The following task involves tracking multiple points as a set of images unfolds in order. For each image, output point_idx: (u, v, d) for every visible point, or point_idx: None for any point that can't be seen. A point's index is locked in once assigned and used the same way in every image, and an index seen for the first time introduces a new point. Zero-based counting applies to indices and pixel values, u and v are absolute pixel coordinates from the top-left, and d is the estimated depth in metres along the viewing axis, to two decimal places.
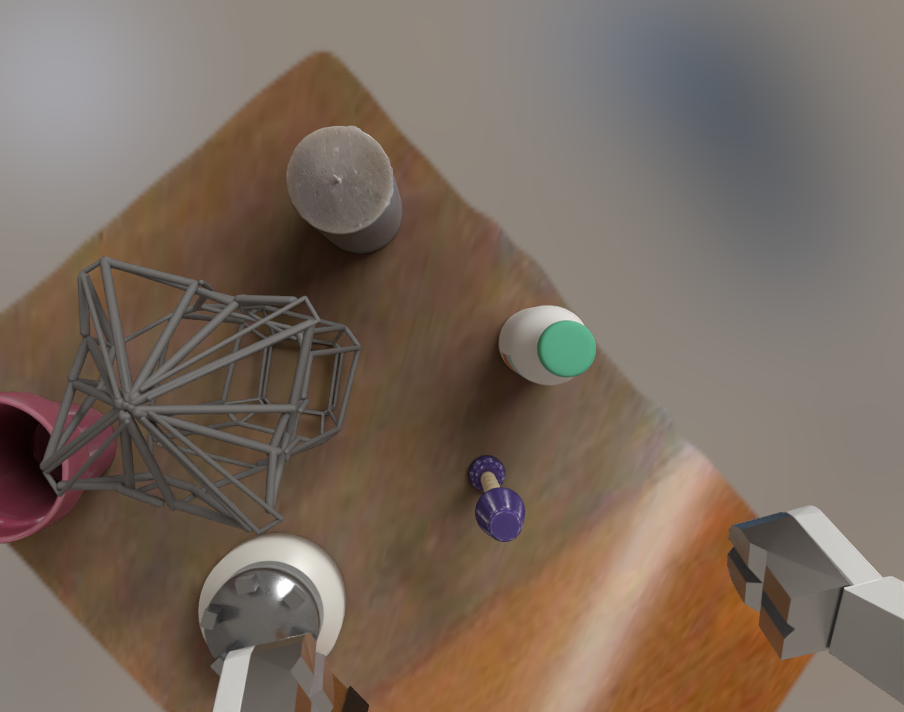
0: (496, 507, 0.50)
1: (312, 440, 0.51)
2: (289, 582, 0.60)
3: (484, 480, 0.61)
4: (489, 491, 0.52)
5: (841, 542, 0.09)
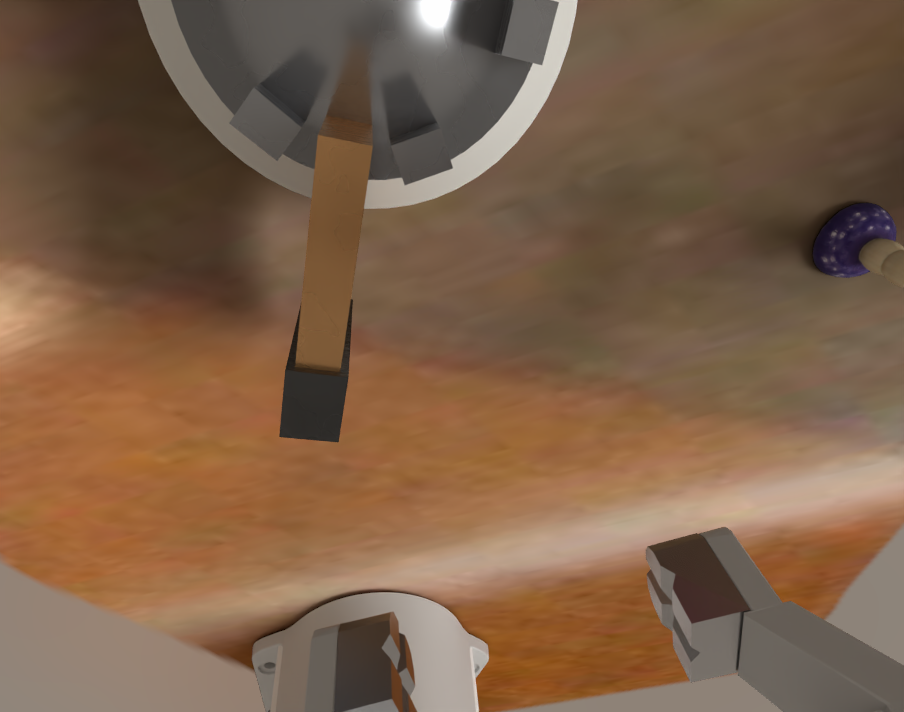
0: None
1: None
2: None
3: None
4: None
5: (748, 566, 0.09)
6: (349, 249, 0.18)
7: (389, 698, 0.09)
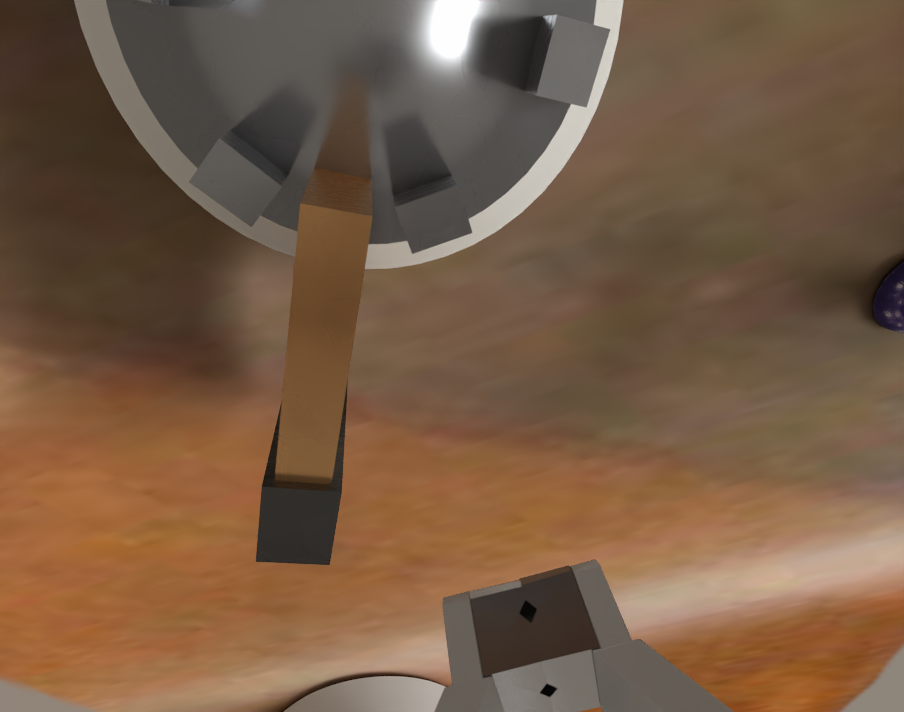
0: None
1: None
2: None
3: None
4: None
5: (607, 601, 0.09)
6: (342, 342, 0.14)
7: (538, 661, 0.09)
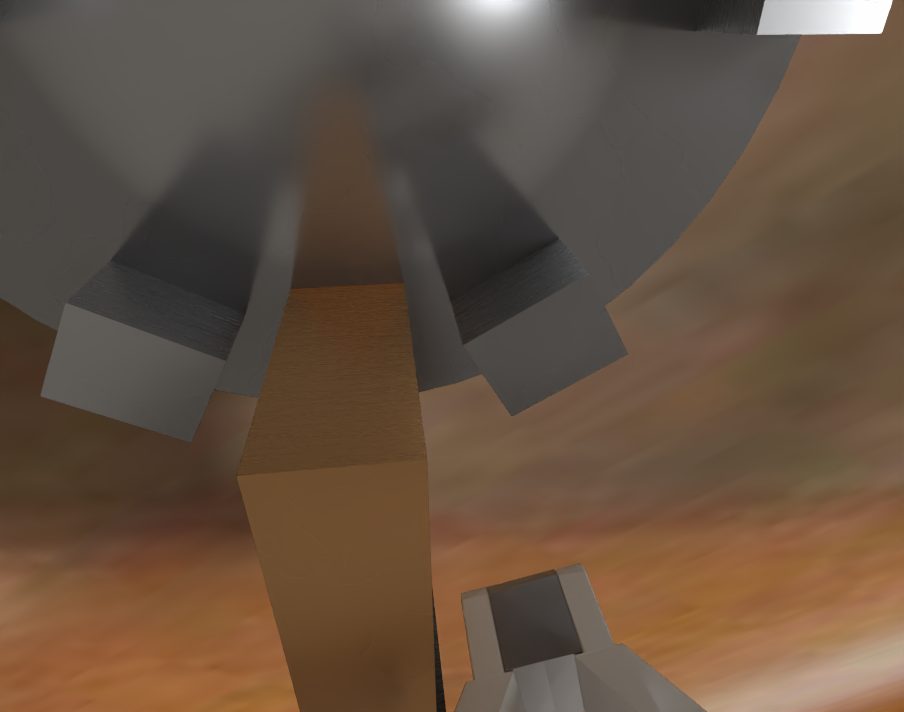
0: None
1: None
2: None
3: None
4: None
5: (590, 605, 0.09)
6: (411, 677, 0.07)
7: (559, 655, 0.09)
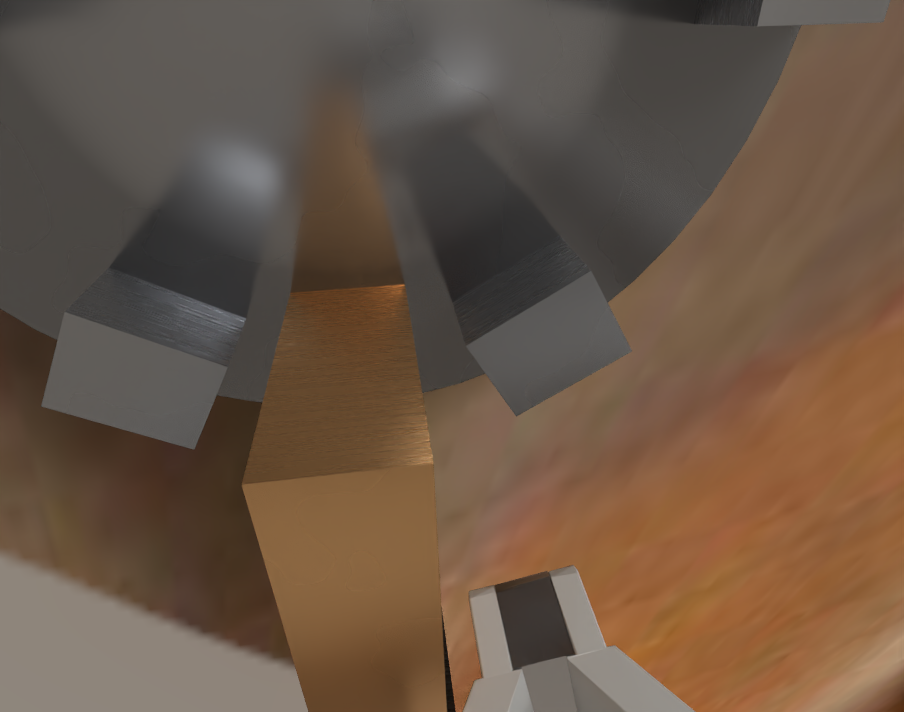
0: None
1: None
2: None
3: None
4: None
5: (582, 607, 0.09)
6: (421, 682, 0.07)
7: (567, 653, 0.09)
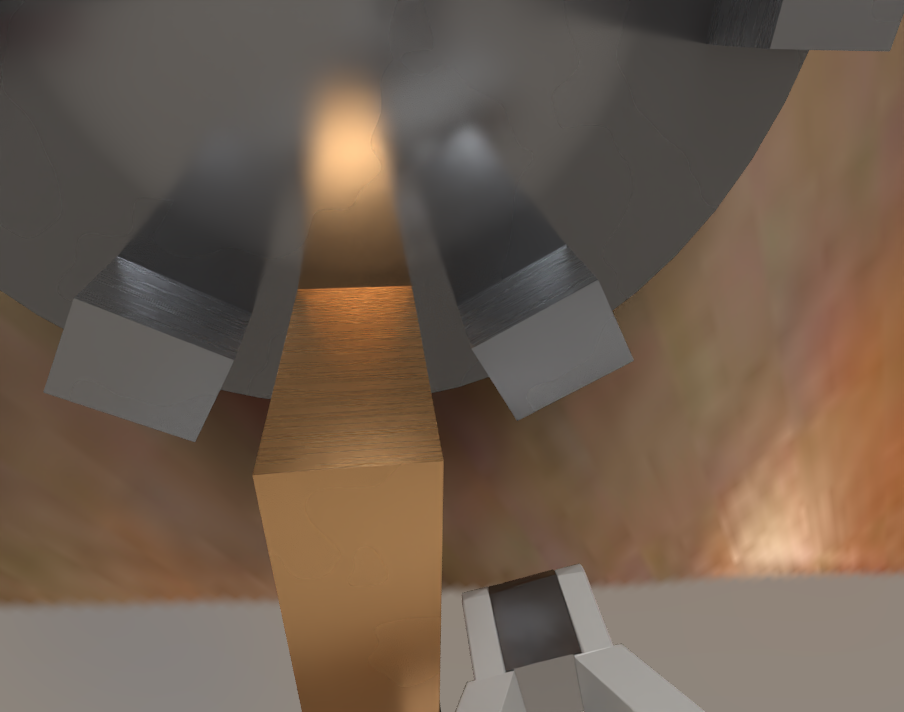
0: None
1: None
2: None
3: None
4: None
5: (589, 606, 0.09)
6: (416, 682, 0.07)
7: (560, 655, 0.09)
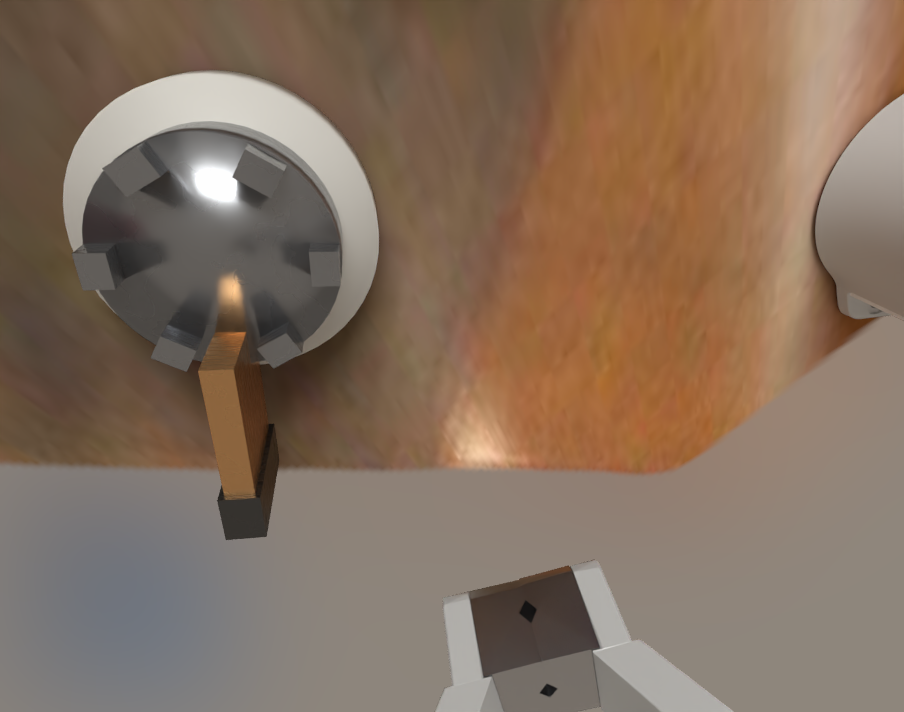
0: None
1: None
2: (333, 230, 0.28)
3: None
4: None
5: (607, 601, 0.09)
6: (237, 425, 0.29)
7: (538, 661, 0.09)
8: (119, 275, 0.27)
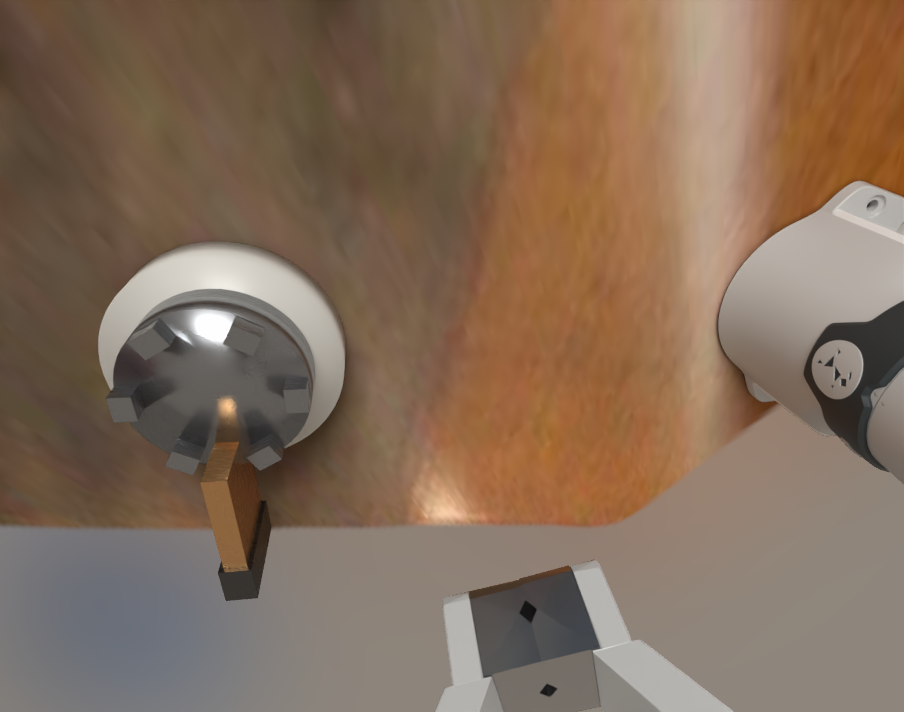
0: None
1: None
2: (303, 369, 0.36)
3: None
4: None
5: (607, 602, 0.09)
6: (231, 519, 0.37)
7: (538, 661, 0.09)
8: (140, 408, 0.36)
